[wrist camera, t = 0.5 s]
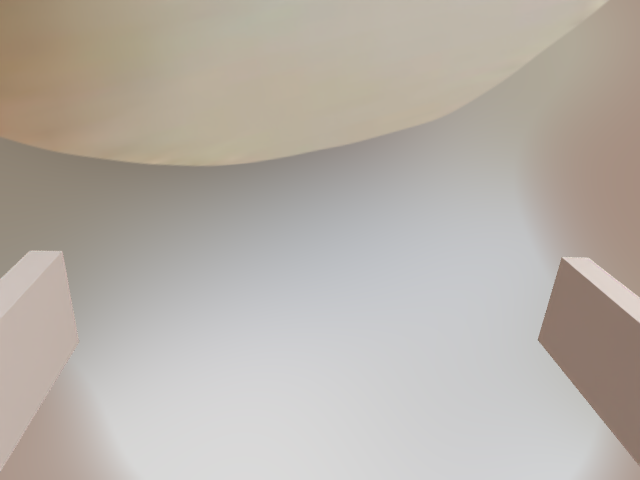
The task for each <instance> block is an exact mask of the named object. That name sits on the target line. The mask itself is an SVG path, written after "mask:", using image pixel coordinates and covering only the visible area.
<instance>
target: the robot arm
mask: <svg viewBox="0 0 640 480" xmlns="http://www.w3.org/2000/svg"><path fill="white" fill-rule="evenodd" d="M538 341H539V342H540V343H541V344H542V346H543V347H544V348H545V349H546V351H547V352H548V353H549V354H550V356H551V357H552V358H553V359H554V360H555V362H556V363H557V364H558V366H559V367H560V368H561V369H562V371H563V372H564V373H565V374H566V375H567V377H568V378H569V379H570V380H571V382H572V383H573V384H574V385H575V386H576V388H577V389H578V390H579V392H580V393H581V394H582V395H583V397H584V398H585V399H586V400H587V401H588V403H589V404H590V405H591V406H592V408H593V409H594V410H595V411H596V413H597V414H598V415H599V416H600V418H601V419H602V420H603V421H604V423H605V424H606V425H607V426H608V427H609V429H610V430H611V431H612V432H613V434H614V435H615V436H616V437H617V439H618V440H619V441H620V442H621V444H622V445H623V446H624V447H625V448H626V450H627V451H628V452H629V454H630V455H631V456H632V457H633V458H634V460H635V461H636V462H637V463H638V465H639V466H640V298H639V297H638V296H637V295H636V294H634V293H633V292H632V291H630V290H629V289H628V288H627V287H625V286H624V285H623V284H621V283H620V282H619V281H618V280H616V279H615V278H614V277H612V276H611V275H610V274H608V273H607V272H606V271H605V270H603V269H602V268H601V267H600V266H598V265H597V264H595V263H594V262H593V261H592V260H590V259H589V258H577V257H572V258H571V257H562V258H561V262H560V265H559V269H558V272H557V276H556V279H555V283H554V286H553V289H552V293H551V296H550V300H549V303H548V307H547V310H546V313H545V317H544V320H543V324H542V327H541V331H540V334H539V338H538ZM78 343H79V339H78V333H77V328H76V323H75V317H74V312H73V306H72V301H71V295H70V291H69V285H68V279H67V274H66V269H65V263H64V258H63V252H62V251H29V252H28V253H27V254H26V255H25V256H24V257H23V258H22V259H21V260H20V261H19V262H18V263H16V264H15V265H14V266H13V267H12V268H11V269H10V270H9V271H8V272H7V273H6V274H5V275H4V276H3V277H2V278H1V279H0V472H1V470H2V468H3V467H4V465H5V463H6V462H7V460H8V459H9V457H10V455H11V454H12V452H13V450H14V448H15V447H16V445H17V444H18V442H19V440H20V439H21V437H22V435H23V434H24V432H25V430H26V429H27V427H28V426H29V424H30V422H31V420H32V419H33V417H34V416H35V414H36V412H37V411H38V409H39V407H40V406H41V404H42V402H43V401H44V399H45V398H46V396H47V394H48V393H49V391H50V389H51V388H52V386H53V384H54V383H55V381H56V379H57V378H58V376H59V374H60V373H61V371H62V370H63V368H64V366H65V365H66V363H67V361H68V360H69V358H70V356H71V355H72V353H73V351H74V350H75V348H76V346H77V345H78Z"/></svg>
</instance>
